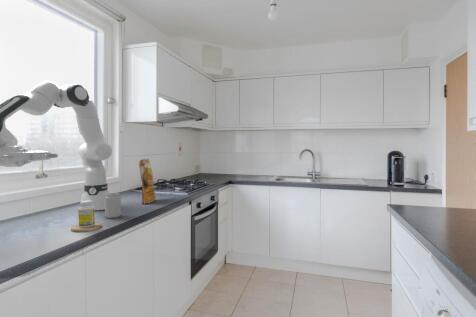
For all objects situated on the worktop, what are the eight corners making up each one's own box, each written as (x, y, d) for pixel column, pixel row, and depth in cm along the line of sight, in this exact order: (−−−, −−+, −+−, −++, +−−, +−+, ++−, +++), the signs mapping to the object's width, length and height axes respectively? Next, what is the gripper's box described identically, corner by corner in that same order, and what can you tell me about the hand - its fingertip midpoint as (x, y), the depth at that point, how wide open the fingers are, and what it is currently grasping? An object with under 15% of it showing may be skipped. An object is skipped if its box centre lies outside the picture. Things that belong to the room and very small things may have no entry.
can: (118, 218, 138) (118, 194, 138) (102, 219, 137) (102, 195, 137) (122, 214, 146) (122, 192, 145) (107, 215, 144) (107, 192, 144)
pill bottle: (87, 223, 126) (86, 199, 125) (98, 224, 124) (97, 200, 123) (75, 227, 120) (74, 202, 119) (86, 228, 118) (85, 202, 117)
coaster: (77, 225, 127) (77, 223, 126) (105, 223, 129) (105, 221, 129) (66, 232, 115) (66, 231, 115) (97, 231, 117) (97, 229, 117)
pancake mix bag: (136, 205, 171) (135, 159, 170) (149, 199, 190) (148, 158, 189) (146, 205, 170) (145, 159, 169) (158, 199, 189) (158, 158, 188)
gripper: (-2, 148, 105) (38, 148, 108) (29, 148, 126) (62, 148, 128) (-1, 165, 106) (39, 164, 108) (29, 162, 126) (62, 162, 128)
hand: (51, 155), depth 118 cm, fingers open, 8 cm apart
